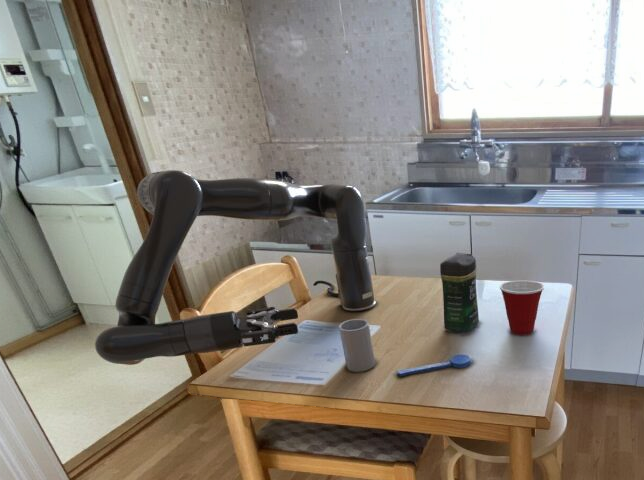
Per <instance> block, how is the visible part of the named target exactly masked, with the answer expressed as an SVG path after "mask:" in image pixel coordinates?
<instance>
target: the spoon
mask: <svg viewBox="0 0 644 480" xmlns="http://www.w3.org/2000/svg"><path fill="white" fill-rule="evenodd" d="M471 363H472V358H471V356H470V355H468V354H464V353H459V354H455V355H453V356H451V357H450V359H449V360H447V361H443V362H437V363H432V364H426V365H421V366H415V367H409V368H403V369H402V368H401V369H399V370H397V372H396V373H397V377H398V376H399V377H405V376H409V375H413V374H419V373H425V372H429V371H434V370H435V371H436V370H441V369H445V368H451V367H453V368H455V369H463V368H467V367H469V366H470V365H471Z"/></svg>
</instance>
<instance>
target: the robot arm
mask: <svg viewBox="0 0 644 480" xmlns="http://www.w3.org/2000/svg"><path fill="white" fill-rule="evenodd" d="M136 194H137V198H138V201H139V203H140V205H141V206H142V207H143V208H144V209H145V210H146V211H147V212H148V213H150V214H151V215H152V219H151V223H150V226H149V228H148V231H147V234H146V236H145V238H144V240H143V242H142V243H141V245H140V246H139V248H138V249H137V251H136V253H135V254H134V255H133V257H132V258H131V261H130V262H129V264H128V266H127V268H126V270H125V272H124V274H123V278H122V280H121V283H120V286H119V289H118V292H117V296H116V298H115V305H114V307H115V309H116V311H117V312H118V319H117V325H116V326H112V327H108V328H106V329H104V330H103V331H101V332H100V333H99V334H98V336H97V337H96V339H95V342H94V349H95V351H96V353H97V355H98V356H99V357H100V358H101V359H103V360H104V361H106V362H108V363H111V364H116V365H125V366H133V365H138V364H141V363H143V362H144V361H145V360H147V359H152V358H157V357H166V358H172V357H181V356H187V355H192V354H207V353H214V352H220V351H227V350H233V349H240V348H243V347H251V346H253V347H254V346H259V345H266V344H273V343H276V340H277V339H279V338H280V337H284V336H285V337H286V336H291V335H297V334H298V333H299V328H298V327H299V326H298V324H297V323H296V322H288V323H282V324H277V325H275V324H276V323H278V322H280V321H281V322H284V321H290V320H297V319H298V318H299V314H298V309H297V308H296V307H292V308H285V309H279V310H278V309H276V307H275V306H269V307H262V308H256V309H250V310H247V311H246V310H245V314H246V316H244V317H239V315H238V313H237V312H236V311H234V310H230V311H224V312H223V311H222V312H215V313H208V314H203V315H197V316H193V317H189V318H184V319H177V320H170V321H164V322H159V323H156V317H157V313H158V311H159V307H160V305H161V301H162V299H163V296H164V292H165V289H166V286H167V283H168V280H169V278H170V274H171V271H172V269H173V266H174V263H175V261H176V259H177V257H178V254H179V253H180V250H181V248H182V246H183V244H184V243H185V242H184V241H185V239H186V238H187V235H188V233H189V232H190V230H191V228H192V226H193V225H194V223H195V221H196V219H197V217H210V216H211V217H221V218H228V219H229V218H230V219H237V220H247V221H259V222H261V221H264V222H265V221H266V222H267V221H268V222H275V221H286V220H292V219H294V218H298V217H310V218H319V219H325V220H329V221H334V222H336V224H337V233H336V234H334V235H332V236H331V238H330V247H331V252H332V257H333V261H334V267H335V272H336V273H335V280H336V286H337V292H333V290H334V289H335V285H334V284H333V283H331V282H328V281H327V280H316V281H314V283H313V284H312V286H314V287H316V286H317V285H319V284H322V285H326V286H329V288H328V289H327V294H328V295H330V296H334V297H338V299H339V301H340V305H341V306H342V309H343V311H347V312H362V311H366V310H367V311H368V310H370V309H372V308H374V307H375V306H376V299H375V293H374V287H373V279H372V274H371V268H370V267H371V266H370V261H369V255H368V249H367V244H366V243H367V242H366V238H367V230H368V229H367V221H366V211H365V204H364V199H363V197H362V194H361V193H360V191H359V190H358V188H356V187H354V186H353V185H347V184H339V183H338V184H337V183H328V184H316V185H300V184H296V183H292V182H288V181H284V180H279V179H274V178H273V179H272V178H261V177H239V178H224V179H223V178H222V179H210V180H209V179H198V178H195V177H193V175H191V174H190V173H187V172H186V171H183V170H179V169H168V170H162V171H160V170H159V171H155V172H151V173H149V174H148V175H146V176H145V177H144V178H143V179H142V180H141V181H139V183H138V186H137V192H136Z"/></svg>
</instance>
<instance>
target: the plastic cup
mask: <svg viewBox="0 0 644 480" xmlns="http://www.w3.org/2000/svg"><path fill="white" fill-rule="evenodd" d="M544 289H545V285H544V284H543V283H542V282H540V281H539V282H538V281H534V280H520V279H519V280H511V281H505V282H502V283H501V284H499V290H500V291H501V294H502V298H503V301H504V306H505V313H506V318H507V321H508V326H509V330H510V332H511V333H512V334H514V335H516V336H526V335H527V336H528V335H531V334H532V333H533V332H534V330H535V325H536V320H537V316H538V309H539V305H540V300H541V296H542V292H543V291H544Z"/></svg>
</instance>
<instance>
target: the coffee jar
mask: <svg viewBox="0 0 644 480" xmlns="http://www.w3.org/2000/svg"><path fill="white" fill-rule="evenodd" d="M439 271H440V278H441V285H442V299H443V300H442V301H443V302H442V303H443V327H444V329H445V330H446V331H448V332H451V333H453V334H462V333H469V332H471V331H472V330H474V329H475V328H476V327H477V325H478V324H479V322H480V317H479V307H478V293H477V260H476V257H475V256H474V255H473V254H472V253H465V252H456V253H455V254H453V255H451V256H449V257H447V258H446V259H445V260H443V261H441V263H440V266H439Z"/></svg>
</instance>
